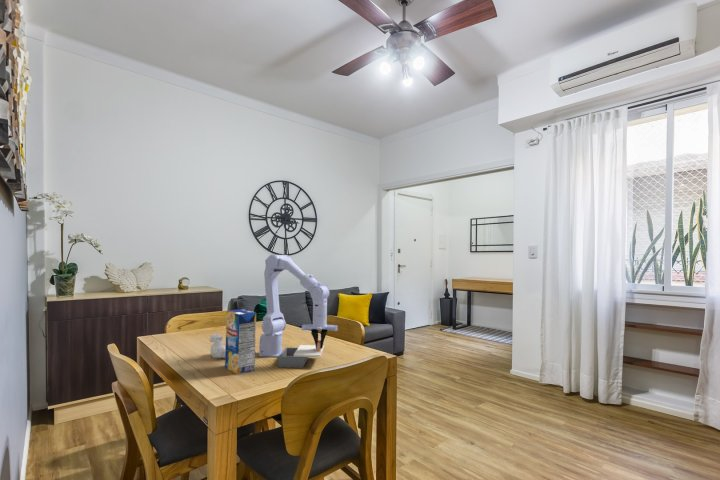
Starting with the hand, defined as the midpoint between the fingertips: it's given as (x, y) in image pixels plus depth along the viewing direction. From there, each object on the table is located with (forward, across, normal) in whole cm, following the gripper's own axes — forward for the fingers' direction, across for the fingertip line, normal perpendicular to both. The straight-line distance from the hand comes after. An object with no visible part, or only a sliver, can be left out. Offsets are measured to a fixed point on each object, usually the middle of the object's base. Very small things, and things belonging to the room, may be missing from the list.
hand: (319, 347), depth 149 cm
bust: (+6, -43, +4) cm, 44 cm away
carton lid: (+2, -4, 0) cm, 4 cm away
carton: (+6, -10, 0) cm, 12 cm away
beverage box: (+6, -29, -10) cm, 32 cm away
